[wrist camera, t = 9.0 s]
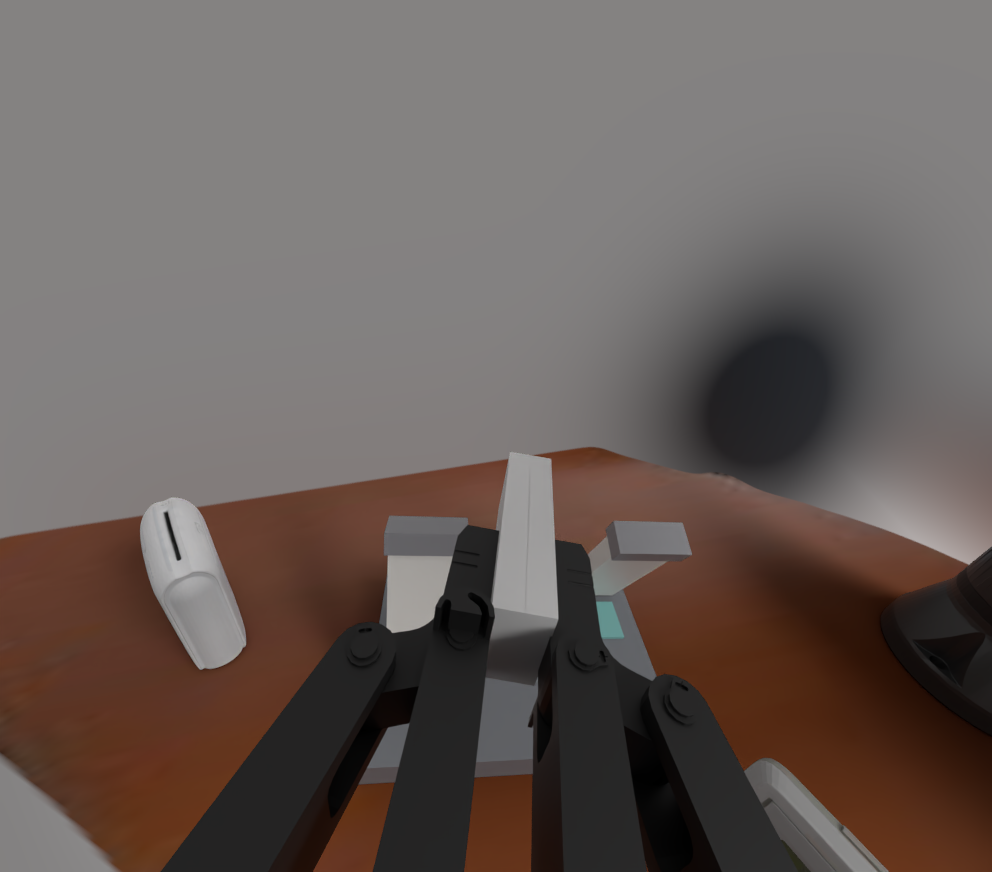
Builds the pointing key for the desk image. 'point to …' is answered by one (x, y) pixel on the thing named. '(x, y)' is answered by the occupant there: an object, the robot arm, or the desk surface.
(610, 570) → the lever
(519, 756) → the switch unit
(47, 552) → the desk surface
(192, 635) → the photo printer
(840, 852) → the digital clock
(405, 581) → the lever
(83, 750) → the desk surface
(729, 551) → the desk surface
